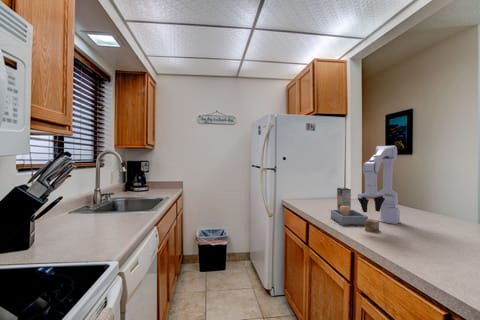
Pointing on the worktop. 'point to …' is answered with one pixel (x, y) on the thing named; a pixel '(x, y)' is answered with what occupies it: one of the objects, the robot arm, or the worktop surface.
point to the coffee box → (343, 197)
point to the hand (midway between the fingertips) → (371, 211)
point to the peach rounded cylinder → (344, 210)
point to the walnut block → (371, 225)
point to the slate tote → (349, 218)
